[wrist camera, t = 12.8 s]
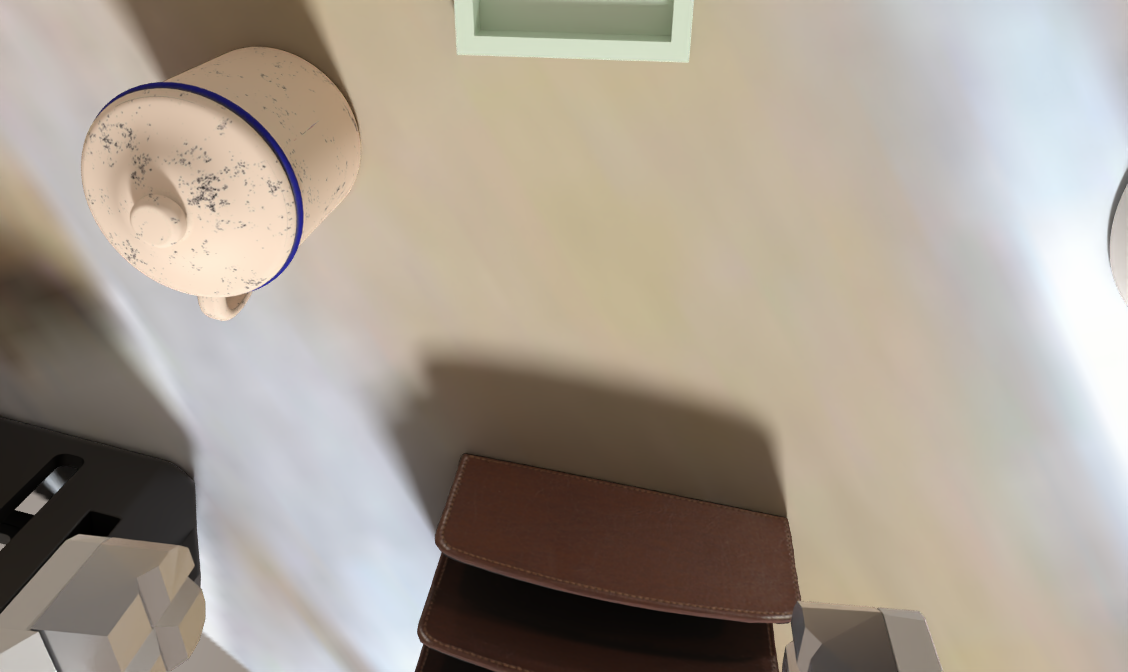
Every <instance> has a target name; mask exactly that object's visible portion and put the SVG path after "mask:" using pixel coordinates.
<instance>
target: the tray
mask: <svg viewBox="0 0 1128 672" xmlns="http://www.w3.org/2000/svg"><path fill="white" fill-rule="evenodd" d="M693 5H694V0H454V10H455V29H456V47H457V55H482V56H512V57H541V58H571V59H601V60H630V61H660V62H689V55H690V42H691V30H692V18H693Z"/></svg>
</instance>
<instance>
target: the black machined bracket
mask: <svg viewBox="0 0 1128 672" xmlns="http://www.w3.org/2000/svg"><path fill="white" fill-rule="evenodd" d="M61 466H71V467H75V468H79V470H78V471H77V472H76V473H75V474H74V475H73V476H72V477H71V478H70V479H69V480H68V481H67V482H66V483H65V484H64V485H63V486H62V487H61V488H60V489H59V491H58V492H57V493H56V494H55V495H54V496H53V497H52V498H51V499H50V500H49V501H48V502H47V503H46V504H45V505H44V506H43V507H42V508H41V509H40V510H39V511H38V512H37V513H36V514H35V515H32V514H28V513H24V512H20V511H16V510H15V509H16V508H17V507H18V506H19V505H20V504H21V503H22V502H23V501H24V500H25V498H27V496H29V495H30V494H31V493H32V492H33V491H34V490H35V489H36V488H37V487H38V486H39V485H40V484H41V483H42V482H43V481H44V480H45V479H46V478H47V477H48V476H49V475H50V474H51V473H52V472H53V471H54V470H55V469H56V468H58V467H61ZM78 534H82V535H91V536H100V537H109V538H122V539H130V540H139V541H147V542H155V543H164V544H172V545H180V546H183V547H187V548H189V551H190V554H191V556H192V559H193V562H194V565H195V566H194V568H193V569H192V571H191V572H190V574H189V575H188V577H189V578H190V579H191V580H192V581H193V582H194V583H195V584H196V585H198V586H199V587H200V583H201V572H200V560H199V549H198V537H197V521H196V497H195V483H194V481H193V480H192V479H191V478H190V477H189V476H188V475H187V474H186V473H184V472H183V471H182V470H181V469H179V468H178V467H177V466H175V465H174V464H172V463H170V462H168V461H165V460H161V459H157V458H153V457H150V456H146V455H142V454H138V453H134V452H131V451H127V450H123V449H119V448H115V447H112V446H108V445H104V444H100V443H96V442H93V441H89V440H85V439H81V438H77V437H74V436H70V435H66V434H62V433H59V432H55V431H51V430H47V429H43V428H40V427H36V426H32V425H28V424H24V423H21V422H17V421H13V420H9V419H5V418H2V417H0V543H2V544H6V546H5V547H4V548H3V549H2V550H1V551H0V614H1V613H2V612H3V611H4V609H5V608H6V607H7V606H8V605H9V604H10V603H11V602H12V600H13V599H14V598H15V597H16V596H17V595H18V594H19V593H20V591H21V590H22V589H23V588H24V587H25V586H26V585H27V584H28V582H29V581H30V580H31V579H32V578H33V577H34V576H35V575H36V573H37V572H38V571H39V570H40V569H41V568H42V567H43V566H44V564H45V563H46V562H47V561H48V560H49V559H50V558H51V557H52V555H53V554H54V553H55V552H56V551H57V550H58V549H59V548H60V546H61V545H62V544H63V543H64V542H65V541H66V540H68V539H70V538H72V537H74V536H76V535H78Z"/></svg>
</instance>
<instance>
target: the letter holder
mask: <svg viewBox="0 0 1128 672" xmlns="http://www.w3.org/2000/svg"><path fill="white" fill-rule="evenodd" d="M435 544H436V545H437V547H438V548H439V549H440V551H441V552H442V553H441V556H440V559H439V563H438V566H437V569H436V571H435V575H434V578H433V581H432V585H431V588H430V590H429V593H428V597H427V600H426V603H425V606H424V609H423V612H422V615H421V618H420V620H419V624H418V629H417V634H418V637H419V639H420V641H421V642H422V643H423V647H422V650H421V653H420V657H419V660H418V663H417V666H416V669H415V672H779V670H778V662H777V654H776V648H775V641H774V631H773V623H776V624H785V623H789V622H791V618H792V613H793V609H794V606H795V604H796V602H797V601H801V596H800V591H799V586H798V577H797V573H796V568H795V559H794V549H793V545H792V536H791V532H790V528H789V522H788V519H787V518H785V517H778V516H773V515H768V514H764V513H761V512H753V511H750V510H744V509H740V508H737V507H736V508H734V507H729V506H723V505H720V504H714V503H710V502H704V501H701V500H694V499H690V498H686V497H680V496H675V495H671V494H665V493H662V492H657V491H651V490H646V489H642V488H637V487H632V486H626V485H621V484H617V483H612V482H607V481H602V480H598V479H592V478H586V477H583V476H576V475H572V474H567V473H564V472H559V471H553V470H547V469H542V468H537V467H533V466H527V465H521V464H516V463H512V462H506V461H501V460H497V459H492V458H487V457H482V456H475V455H470V454H463V455H462V456H461V459H460V461H459V465H458V470H457V473H456V476H455V479H454V482H453V484H452V487H451V490H450V493H449V496H448V499H447V502H446V505H445V508H444V510H443V513H442V516H441V519H440V522H439V525H438V527H437V531H436V534H435Z"/></svg>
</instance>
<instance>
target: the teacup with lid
mask: <svg viewBox="0 0 1128 672" xmlns="http://www.w3.org/2000/svg"><path fill="white" fill-rule="evenodd" d="M360 161H361V142H360V135H359V131H358V127H357V123H356V120H355V117H354V115H353V113H352V110H351V108H350V106H349V105H348V103H347V101H346V99H345V98H344V96H343V95H342V93H341V92H340V91H339V89H338V88H337V87H336V86H335V84H334V83H333V82H332V81H331V80H330V79H329V78H328V77H327V76H326V75H325V74H324V73H323V72H321V71H320V70H319V69H317V68H316V67H315V66H314V65H312V64H310V63H309V62H307V61H306V60H304V59H302V58H300V57H298V56H296V55H294V54H291V53H289V52H286V51H283V50H279V49H274V48H268V47H247V48H241V49H237V50H233V51H231V52H228V53H226V54H223V55H221V56H219V57H217V58H214V59H212V60H210V61H208V62H206V63H203V64H201V65H199V66H197V67H194V68H192V69H190V70H188V71H186V72H183V73H181V74H179V75H177V76H175V77H172V78H170V79H168V80H166V81H163V82H157V83H149V84H144V85H140V86H137V87H134V88H131V89H129V90H127V91H125V92H123V93H121V94H119V95H118V96H116V97H115V98H113V99H112V100H111V101H110V102H109V103H108V104H107V105H105V106H104V108H103V109H102V110H101V111H100V112H99V114H98V115H97V117H96V118H95V120H94V122H93V124H92V125H91V127H90V129H89V131H88V133H87V136H86V139H85V142H84V146H83V151H82V160H81V176H82V183H83V189H84V193H85V197H86V200H87V203H88V206H89V208H90V210H91V213H92V215H93V217H94V219H95V221H96V223H97V225H98V226H99V228H100V229H101V231H102V233H103V234H104V235H105V237H106V238H107V240H108V241H109V242H110V243H111V245H112V246H113V247H114V248H115V249H116V250H117V251H118V252H119V253H120V254H121V255H122V257H123V258H125V259H126V260H127V261H128V262H129V263H130V264H131V265H133V266H134V267H135V268H136V269H138V270H139V271H140V272H142V273H143V274H145V275H146V276H148V277H149V278H151V279H153V280H155V281H156V282H158V283H160V284H162V285H164V286H167V287H169V288H172V289H174V290H177V291H180V292H183V293H187V294H191V295H196V296H198V302H199V306H200V308H201V310H202V311H203V313H204V314H205V315H207V316H208V317H210V318H213V319H217V320H221V321H226V320H230V319H232V318H233V317H235V316H236V315H237V314H238V313H239V312H240V311H241V309H242V308H243V307H244V305H245V304H246V302H247V301H248V299H249V297H250V296H251V294H252V292H253V291H254V290H257V289H259V288H261V287H263V286H265V285H267V284H268V283H270V282H271V281H273V280H274V279H276V278H277V277H278V276H279V275H280V274H281V273H282V272H283V271H284V270H285V269H286V268H287V266H288V265H289V263H290V262H291V261H292V259H293V257H294V255H295V253H296V251H297V249H298V247H299V246H300V245H301V244H302V242H303V241H304V240H305V239H306V238H307V237H308V236H309V235H310V234H311V233H312V232H313V231H314V230H315V229H316V228H317V227H318V226H319V225H320V224H321V223H322V222H323V220H324V219H325V218H326V217H327V216H328V215H329V214H330V213H331V212H332V211H333V210H334V209H335V208H336V207H337V206H338V205H339V204H340V203H341V202H342V200H343V199H344V198H345V197H346V196H347V194H348V193H349V191H350V190H351V188H352V186H353V184H354V182H355V180H356V177H357V175H358V171H359V167H360Z"/></svg>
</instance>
